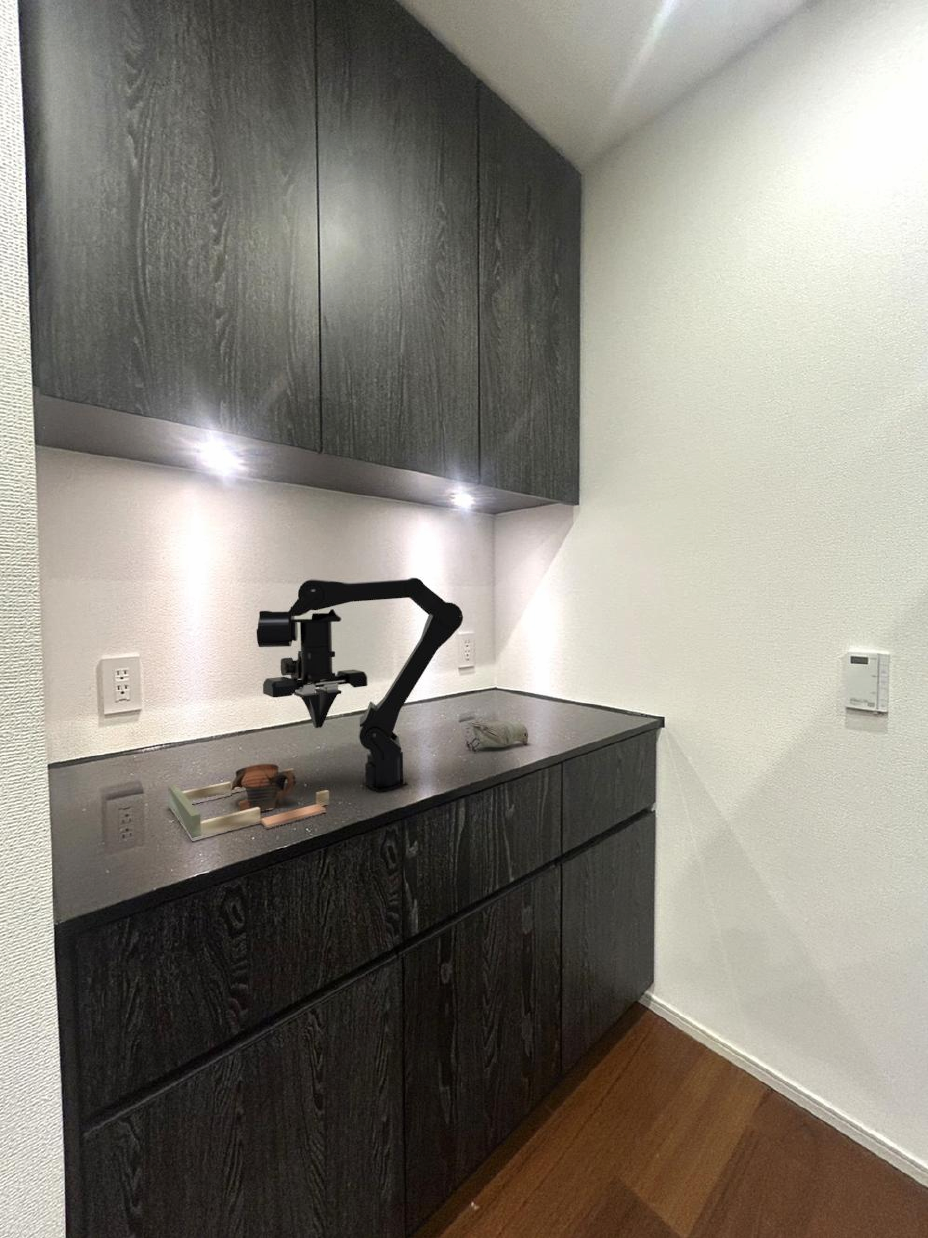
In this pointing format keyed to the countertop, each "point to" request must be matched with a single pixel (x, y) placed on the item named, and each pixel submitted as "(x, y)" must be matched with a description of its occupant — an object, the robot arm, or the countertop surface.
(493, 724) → the decorative bird
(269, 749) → the countertop surface
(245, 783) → the pottery mug
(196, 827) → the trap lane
